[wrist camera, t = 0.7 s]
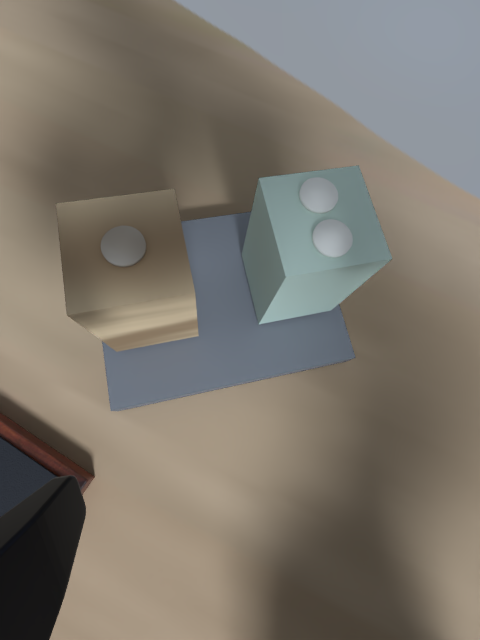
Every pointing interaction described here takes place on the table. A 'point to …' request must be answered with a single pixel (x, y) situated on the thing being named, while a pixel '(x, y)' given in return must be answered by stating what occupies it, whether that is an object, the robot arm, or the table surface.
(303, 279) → the two-stud toy brick
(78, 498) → the robot arm
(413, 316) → the table surface
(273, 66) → the table surface
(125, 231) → the wooden button block
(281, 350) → the key base
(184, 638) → the table surface
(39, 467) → the picture frame
